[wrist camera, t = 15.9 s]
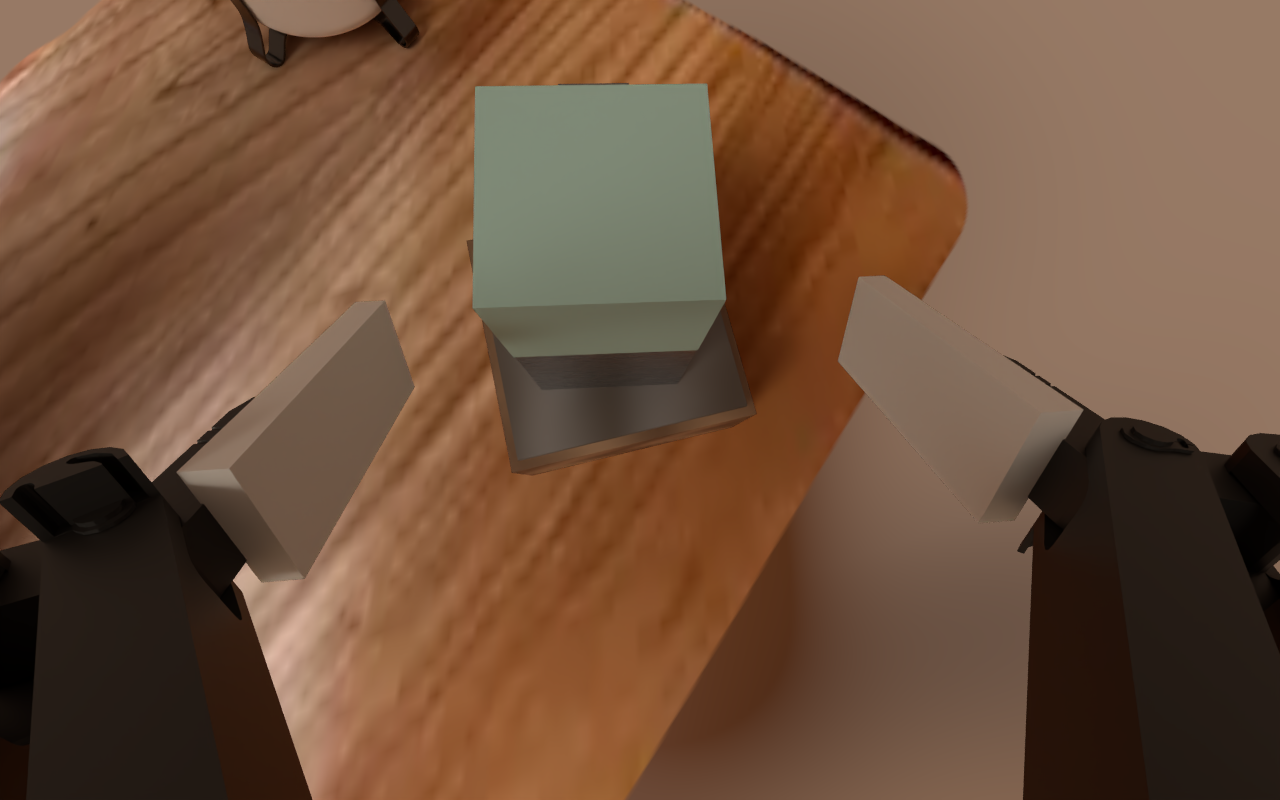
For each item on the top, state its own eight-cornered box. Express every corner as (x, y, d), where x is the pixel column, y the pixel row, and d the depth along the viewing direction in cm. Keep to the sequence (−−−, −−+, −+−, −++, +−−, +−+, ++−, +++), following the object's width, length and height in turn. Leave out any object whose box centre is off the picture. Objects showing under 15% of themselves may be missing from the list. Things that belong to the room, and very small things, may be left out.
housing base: (541, 390, 24) (513, 355, 18) (539, 262, 25) (512, 187, 19) (677, 383, 25) (697, 347, 18) (668, 258, 26) (684, 183, 19)
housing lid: (513, 357, 18) (472, 308, 13) (512, 154, 19) (475, 41, 14) (697, 349, 18) (726, 299, 13) (682, 150, 20) (703, 39, 15)
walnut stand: (532, 475, 29) (509, 472, 23) (493, 283, 31) (463, 236, 26) (732, 426, 30) (759, 412, 24) (681, 243, 33) (694, 190, 27)
